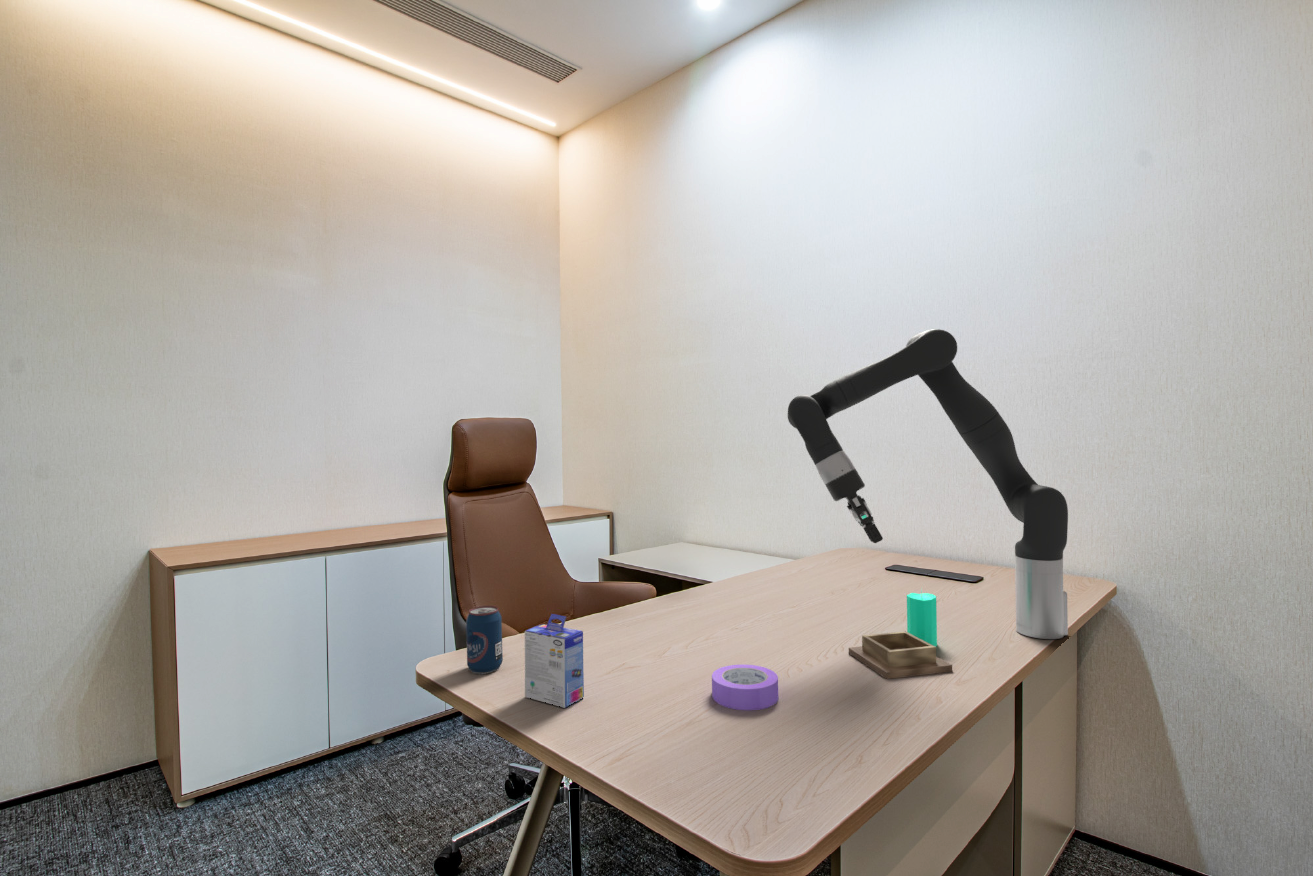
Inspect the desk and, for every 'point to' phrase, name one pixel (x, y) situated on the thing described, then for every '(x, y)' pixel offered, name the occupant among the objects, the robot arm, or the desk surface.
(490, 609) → the soda can
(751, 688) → the masking tape
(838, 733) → the desk surface
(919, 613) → the candle
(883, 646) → the candle holder
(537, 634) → the ink cartridge box
